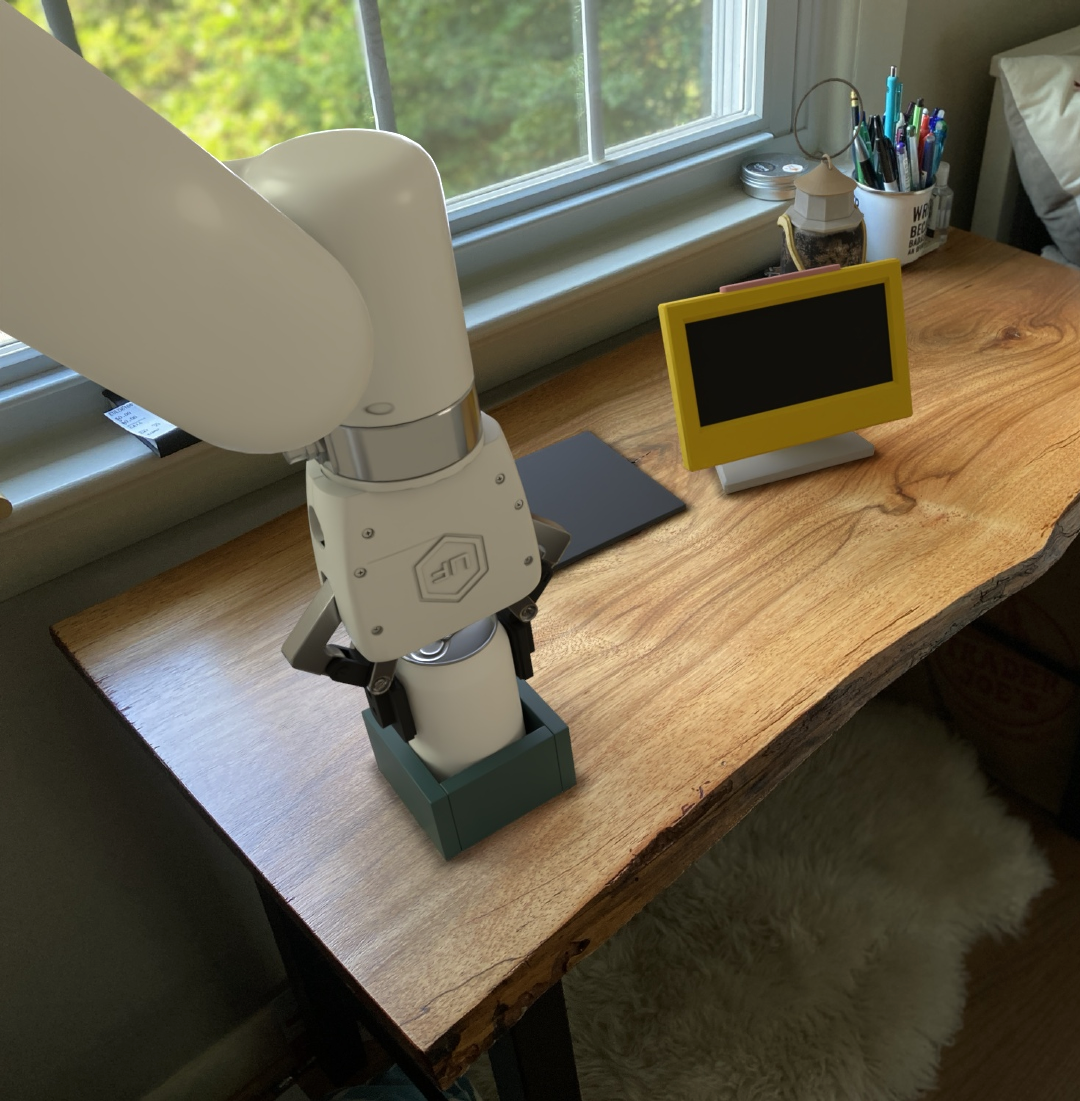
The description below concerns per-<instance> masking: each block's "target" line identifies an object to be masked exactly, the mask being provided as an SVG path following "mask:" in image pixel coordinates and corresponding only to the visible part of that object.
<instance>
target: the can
mask: <svg viewBox="0 0 1080 1101" xmlns="http://www.w3.org/2000/svg"><path fill="white" fill-rule="evenodd" d="M395 676H396V677H397V678H398V679H399V681H400V682H401V683H402V684H403V686H404V688H405V690H406V694H407V698H408V701H409V705H410V709H411V713H412V716H413V720H414V724H415V728H416V732H417V735H415V739H413V740H411V741H409V746H410V747H411V748H412V750H413V751H414V752H415V754H416V755H417V756H418V758H419V759H420V760H421V761H422V763H423V764H424V765H425V767H426V768H427V769H428V770H429V772H430V773H431V774H432V776H433V777H434V778H435V779H436V781H437V782H438V783H439V785H440V783H441V782H443V781H445V780H447V779H449V778H450V777H452V776H454V775H456V774H458V773H459V772H461V771H463V770H465V769H467V768H468V767H470V766H472V765H474V764H476V763H478V762H479V761H481V760H483V759H485V758H487V757H488V756H490V755H492V754H494V753H496V752H498V751H499V750H501V749H503V748H505V747H507V746H508V745H510V744H512V743H514V742H516V741H517V740H519V739H521V738H523V737H525V736H526V731H525V725H524V720H523V714H522V708H521V702H520V697H519V691H518V685H517V680H516V674H515V669H514V663H513V658H512V652H511V647H510V643H509V638H508V635H507V633H506V630H505V629H504V627H503V626H502V624H501V623H500V622H499V621H498V619H497V615H496V613H494V614H492V615H490V616H488V617H486V618H484V619H482V620H480V621H478V622H475V623H473V624H471V625H469V626H467V627H465V628H463V629H461V630H459V631H457V632H455V633H453V634H450V635H448V636H446V637H444V638H442V639H440V640H438V641H436V642H434V643H431V644H429V645H427V646H425V647H423V648H421V649H419V650H417V651H414V652H412V653H410V654H408V655H405V656H403V657H400V658H398V662H397V666H396V670H395Z"/></svg>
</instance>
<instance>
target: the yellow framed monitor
mask: <svg viewBox="0 0 1080 1101" xmlns="http://www.w3.org/2000/svg"><path fill="white" fill-rule="evenodd" d="M903 289H904V288H903V279H902V266H901V260H900V259H899V258H893V257H892V258H891V257H890V258H885V259H880V260H875V261H870V262H866V263H864V264H859V265H854V266H849V267H844V268H840V264H834V265H829V266H823V267H818V268H813V269H808V270H803V271H798V272H793V273H788V274H783V275H780V274H779V275H774V276H769V277H763V278H758V279H753V280H748V281H744V282H738V283H734V284H733V283H732V284H727V285H723V286H720V287H719V292H714V293H709V294H703V295H699V296H694V297H693V296H692V297H688V298H683V299H678V300H673V301H668V302H663V303H659V305H658V306H657V309H658V310H657V311H658V317H659V323H660V328H661V335H662V341H663V348H664V353H665V359H666V360H665V361H666V366H667V372H668V378H669V384H670V390H671V397H672V403H673V409H674V415H675V423H676V428H677V434H678V438H679V439H678V441H679V447H680V454H681V459H682V465H683V468H684V469H685V470H686V471H688V472H691V473H694V472H698V471H702V470H706V469H710V468H713V467H715V470H716V473H717V476H718V479H719V481H720V484H721V487H722V490H723V492H724V493H725V494H727V495H728V494H732V493H735V492H739V491H743V490H747V489H751V488H755V487H758V486H762V485H765V484H770V483H774V482H778V481H782V480H785V479H788V478H792V477H797V476H800V475H804V474H808V473H812V472H815V471H818V470H822V469H826V468H831V467H834V466H838V465H842V464H846V463H850V462H854V461H857V460H861V459H864V458H869V457H872V456H874V455H875V445H874V444H873V443H872V442H870V441H868V440H867V439H865V437H862V436H861V435H860V434H858V433H856V432H855V431H860V430H864V429H867V428H872V427H876V426H880V425H883V424H887V423H892V422H895V421H900V420H904V419H907V418H911V417H912V416H913V414H914V411H913V399H912V387H911V386H912V385H911V373H910V363H909V351H908V350H909V349H908V340H907V339H908V338H907V326H906V314H905V302H904V290H903Z"/></svg>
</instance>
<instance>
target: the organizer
mask: <svg viewBox="0 0 1080 1101" xmlns="http://www.w3.org/2000/svg"><path fill="white" fill-rule="evenodd" d="M516 680H517V685H518V691H519V697H520V702H521V708H522V714H523V720H524V725H525V731H526V736H525V737H523V738H521V739H519V740H517V741H516V742H514V743H512V744H510V745H508V746H507V747H505V748H503V749H501V750H499V751H498V752H496V753H494V754H492V755H490V756H488V757H487V758H485V759H483V760H481V761H479V762H478V763H476V764H474V765H472V766H470V767H468V768H467V769H465V770H463V771H461V772H459V773H458V774H456V775H454V776H452V777H450V778H449V779H447V780H445V781H443V782H441V783H440V785H439V783H438V782H437V781H436V779H435V778H434V777H433V776H432V774H431V773H430V772H429V770H428V769H427V768H426V767H425V765H424V764H423V763H422V761H421V760H420V759H419V758H418V756H417V755H416V754H415V752H414V751H413V750H412V748H411V747H410V746H409V742H407V743H405V742H404V741H403V740H402V738H401V737H400V736H399V735H398V733H397V732H396V731H395V729H394V728H393V727H392V725H390V726H388V727H386V728H384V729H382V728H381V727H380V725H379V724H378V723H377V721H376V720H375V718H374V716H373V714H372V712H371V710H370V707H369V706H368V707H367V708H365V709H363V710H361V716H362V719H363V723H364V726H365V729H366V733H367V736H368V739H369V742H370V746H371V749H372V752H373V755H374V758H375V762H376V766H377V768H378V770H379V771H380V773H381V775H383V777H384V778H385V780H386V781H387V782H388V784H389V785H390V787H391V788H392V789H393V791H394V792H395V793H396V795H397V796H398V797H399V799H400V800H401V802H402V803H403V805H404V806H405V808H407V810H408V811H409V813H410V814H411V816H412V817H413V819H414V820H415V821H416V823H417V824H418V825H419V827H420V828H421V829H422V830H423V832H424V833H425V835H426V837H427V838H428V839H429V840H430V842H431V843H432V844H433V846H434V847H435V848H436V850H437V851H438V852H439V854H440V855H441V857H442V858H443V859H444V861H445V862H448V861H450V860H451V859H453V858H455V857H456V856H458V855H460V854H462V852H465V851H467V850H468V849H470V848H472V847H473V846H475V845H477V844H478V843H480V842H482V841H484V840H485V839H487V838H488V837H490V836H492V835H493V834H495V833H497V832H498V831H500V830H502V829H503V828H505V827H507V826H509V825H511V824H512V823H514V822H515V821H517V820H519V819H521V818H522V817H524V816H526V815H528V814H529V813H531V812H532V811H534V810H536V809H537V808H539V807H540V806H542V805H544V804H545V803H548V802H549V801H551V800H553V799H554V798H556V797H557V796H559V795H561V794H562V793H565V792H566V791H568V790H570V789H571V788H573V787H575V786H577V784H578V782H577V776H576V775H577V774H576V769H575V768H576V767H575V760H574V753H573V745H572V739H571V733H570V726H569V725H568V724H567V722H565V721H564V720H563V719H562V718H561V716H559V714H558V713H557V712H556V711H555V710H554V709H553V708H552V707H551V706H550V705H549V704H548V703H547V702H546V700H544V699H543V697H542V696H541V695H540V694H539V693H538V692H537V691H536V690H535V689H534V687H532V686H531V685H530V683H528V682H527V680H523V679H522V680H520V679H519V678H518V677H517V676H516Z"/></svg>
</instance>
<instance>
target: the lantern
mask: <svg viewBox="0 0 1080 1101" xmlns="http://www.w3.org/2000/svg"><path fill="white" fill-rule="evenodd" d="M830 82H838V83H843V84H845V85H847V86H848V87H850V88H851V89H852V90H853V91H854V94H855V95H856V96H857V99H858V103H859V110H860V111H859V112H860V115H859V122H858V125H857V128H856V131H855V132H854V134H853V137H852V138H851V139H850V141H849V142H848V143H847V144H846V145H845V146H844V148H842V149H841V150H840V151H838V152H836V153H834V154H832V155H829V154H827V153H824V154H823V155H822V156H821V157H820V156H815V155H813V154H810V153H809V152H808V151H806V150H805V148H804V147H803V146H802V145H801V142H800V140H799V136H798V132H797V121H798V116H799V113H800V109H801V107H802V105H803V103H804V101H805V100H806V98H807V97H808V96H809V95H810V93H812V91H814V90H815V89H816V88H818V87H819V86H821V85H823V84H826V83H830ZM863 119H864V105H863V100H862V97H861V94H860V92H859V90H858V89H857V87H855V86H854V85H853V84H852V83H851V82H850V81H849V80H846V79H843V78H841V77H840V78H839V77H830V78H826V79H823V80H820V81H819V82H817V83H814V84H813V85H812V86H811V87H810V88H809V89H808V90H807V91H806V92H805V94H803V95H802V97H801V99H800V101H799V103H798V104H797V107H796V109H795V113H794V116H793V124H792V127H793V135H794V139H795V143H796V144H797V147H798V148H799V149H800V151H801V152H802V154H804V155H805V156H806V157H808V158H811V159H812V160H816V161H820V163H819V164H818V165H816V167H814V168H812V169H811V170H810V171H809V172H807V173H805V174H803V175H801V176H799V177H796V178H795V179H794V181H793V184H794V187H795V188H796V189H795V198H794V203H793V204H791V205H790V206H789V207H788V208H786V210H785V211H784V213H783V214H782V215H780V216H778V219H777V221H776V224H777V225H776V226H777V227H779V228H783V229H782V232H781V248H780V249H781V251H780V266H779V275H783V274H788V273H793V272H798V271H803V270H808V269H813V268H818V267H823V266H829V265H834V264H840V268H844V267H849V266H854V265H859V264H864V263H867V254H868V253H867V252H868V232H867V224H866V221H865V218H864V217H865V213H863V212H862V211H861V210H860V208H859V206H858V205H857V204H856V203H855V190H857V188H858V182H856V181H855V180H854V178H851V177H849V176H848V175H846V174H844V173H843V172H842V171H841V170H839V169H838V167H836V165H834V164H833V163H832V159H836V158H837V157H839V156H841V155H842V154H843V153H844V152H846V151H847V150H848V149H849V148H850V147H851V146H852V144H853V143H854V142H855V141H856V139H857V138H858V135H859V133H860V131H861V128H862V125H863Z"/></svg>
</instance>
